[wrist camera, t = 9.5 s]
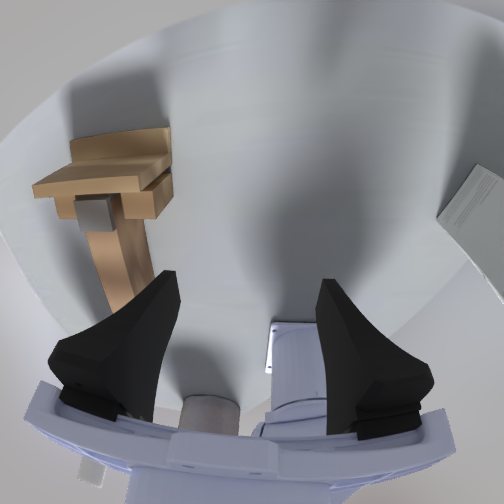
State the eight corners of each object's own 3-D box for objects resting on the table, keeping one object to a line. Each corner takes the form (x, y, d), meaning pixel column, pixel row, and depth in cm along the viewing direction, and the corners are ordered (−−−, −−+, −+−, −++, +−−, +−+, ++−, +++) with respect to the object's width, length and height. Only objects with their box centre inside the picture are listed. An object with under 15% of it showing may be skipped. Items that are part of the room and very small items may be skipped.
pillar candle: (226, 421, 44) (219, 492, 31) (176, 406, 42) (161, 480, 29) (250, 404, 39) (246, 489, 27) (193, 387, 37) (177, 477, 24)
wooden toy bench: (174, 196, 21) (146, 233, 16) (83, 198, 21) (44, 231, 16) (170, 127, 18) (134, 142, 13) (73, 139, 18) (26, 160, 13)
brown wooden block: (161, 304, 27) (146, 340, 23) (136, 301, 27) (119, 335, 23) (136, 173, 20) (105, 196, 16) (106, 175, 20) (72, 198, 16)
